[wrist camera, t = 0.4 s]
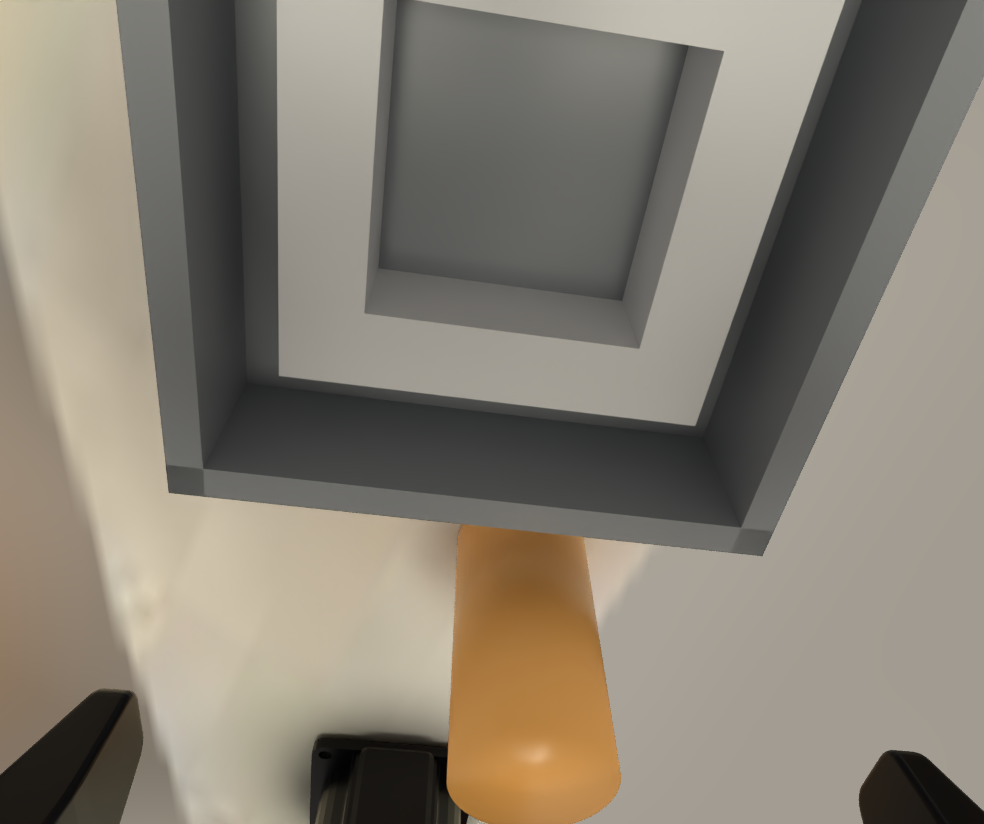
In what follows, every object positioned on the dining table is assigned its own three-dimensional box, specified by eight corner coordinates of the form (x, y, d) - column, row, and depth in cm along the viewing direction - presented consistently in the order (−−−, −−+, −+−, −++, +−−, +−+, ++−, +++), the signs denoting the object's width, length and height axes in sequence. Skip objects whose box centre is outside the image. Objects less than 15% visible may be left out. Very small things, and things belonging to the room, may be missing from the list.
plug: (569, 593, 25) (599, 835, 19) (450, 581, 25) (437, 823, 18) (595, 502, 23) (639, 737, 17) (465, 487, 23) (457, 721, 16)
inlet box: (714, 447, 22) (762, 556, 18) (226, 389, 21) (168, 492, 17) (959, -204, 14) (1133, -249, 10) (188, -358, 13) (66, -474, 9)
